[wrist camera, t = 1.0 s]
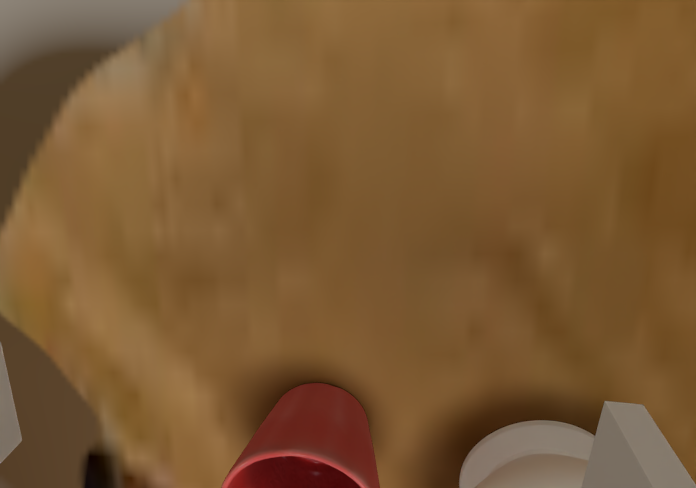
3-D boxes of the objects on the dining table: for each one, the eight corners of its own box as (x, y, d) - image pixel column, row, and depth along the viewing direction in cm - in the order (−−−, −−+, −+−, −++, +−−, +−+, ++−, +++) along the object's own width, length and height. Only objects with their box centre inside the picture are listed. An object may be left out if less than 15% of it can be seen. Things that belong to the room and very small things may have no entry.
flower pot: (343, 342, 40) (325, 429, 31) (411, 447, 43) (413, 555, 34) (230, 393, 43) (184, 487, 34) (301, 489, 46) (276, 599, 37)
